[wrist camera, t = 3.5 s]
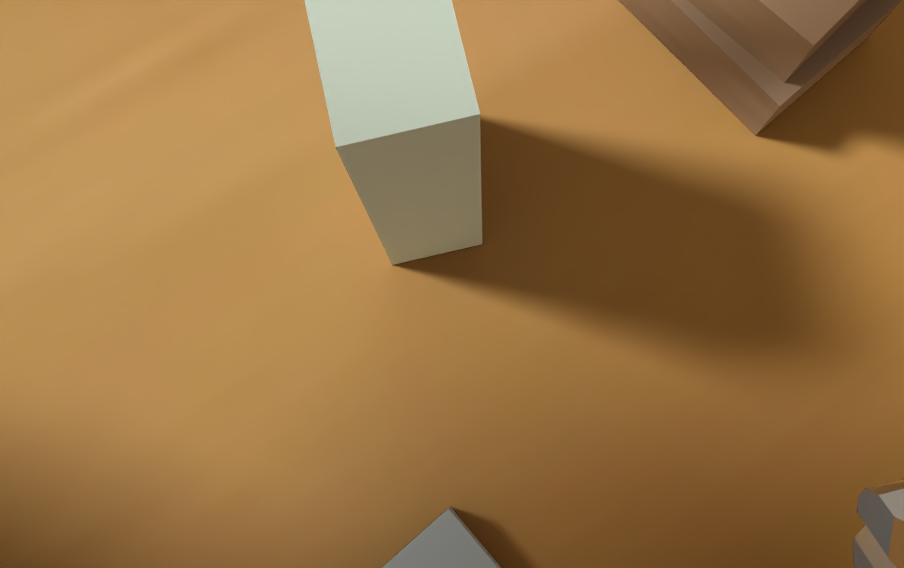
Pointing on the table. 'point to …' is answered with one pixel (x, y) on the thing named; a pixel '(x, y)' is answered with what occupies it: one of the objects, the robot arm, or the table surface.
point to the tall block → (403, 119)
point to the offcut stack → (760, 45)
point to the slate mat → (444, 547)
